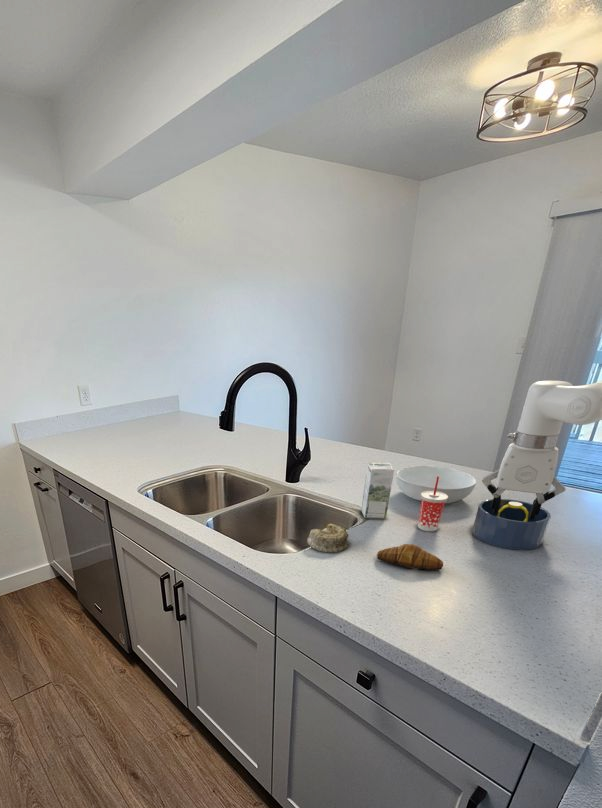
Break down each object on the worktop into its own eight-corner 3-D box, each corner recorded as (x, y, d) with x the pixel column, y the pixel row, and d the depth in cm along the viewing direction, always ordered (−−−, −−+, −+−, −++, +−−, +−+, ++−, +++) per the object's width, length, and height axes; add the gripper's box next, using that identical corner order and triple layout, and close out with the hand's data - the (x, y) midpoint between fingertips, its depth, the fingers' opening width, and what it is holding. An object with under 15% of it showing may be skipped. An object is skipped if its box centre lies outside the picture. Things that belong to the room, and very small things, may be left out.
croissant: (442, 562, 97) (446, 543, 95) (442, 577, 92) (447, 557, 90) (377, 552, 103) (380, 533, 101) (374, 566, 97) (377, 546, 95)
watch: (524, 526, 105) (531, 503, 102) (524, 531, 103) (531, 507, 100) (495, 521, 108) (501, 499, 105) (494, 526, 106) (501, 503, 103)
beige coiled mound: (356, 545, 107) (360, 526, 105) (329, 559, 103) (333, 539, 100) (324, 529, 114) (327, 511, 112) (298, 541, 109) (300, 523, 107)
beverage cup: (445, 531, 110) (457, 479, 104) (422, 533, 110) (433, 481, 104) (432, 521, 116) (443, 471, 110) (410, 523, 116) (419, 473, 109)
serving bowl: (470, 516, 117) (476, 492, 114) (388, 505, 127) (391, 482, 124) (471, 490, 133) (477, 469, 130) (398, 482, 143) (401, 462, 140)
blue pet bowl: (539, 530, 108) (548, 504, 105) (542, 555, 98) (552, 527, 95) (474, 519, 116) (480, 495, 112) (470, 541, 105) (477, 515, 102)
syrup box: (382, 511, 124) (389, 461, 117) (386, 519, 118) (394, 468, 112) (361, 510, 125) (367, 461, 118) (364, 519, 119) (371, 468, 113)
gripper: (488, 440, 97) (469, 513, 106) (587, 448, 89) (559, 527, 97) (489, 433, 103) (472, 503, 111) (583, 439, 94) (557, 515, 102)
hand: (513, 513), depth 104 cm, fingers open, 6 cm apart
